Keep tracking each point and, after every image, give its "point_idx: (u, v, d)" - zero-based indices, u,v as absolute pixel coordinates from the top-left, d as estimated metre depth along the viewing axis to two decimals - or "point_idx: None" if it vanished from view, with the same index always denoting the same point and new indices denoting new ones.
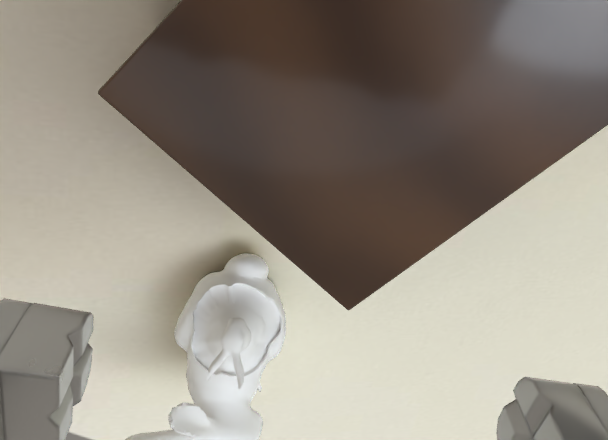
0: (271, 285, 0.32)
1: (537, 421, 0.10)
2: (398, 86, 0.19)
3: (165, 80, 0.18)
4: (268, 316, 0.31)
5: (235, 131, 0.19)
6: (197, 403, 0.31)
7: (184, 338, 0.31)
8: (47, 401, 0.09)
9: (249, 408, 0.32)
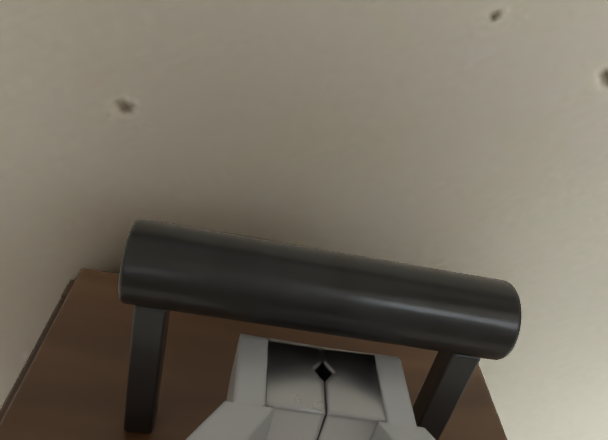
0: None
1: None
2: None
3: None
4: None
5: None
6: None
7: None
8: (307, 434, 0.09)
9: None
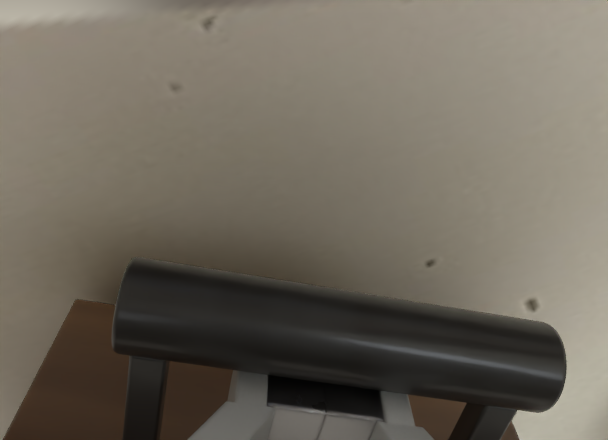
0: None
1: None
2: None
3: None
4: None
5: None
6: None
7: None
8: (309, 434, 0.09)
9: None
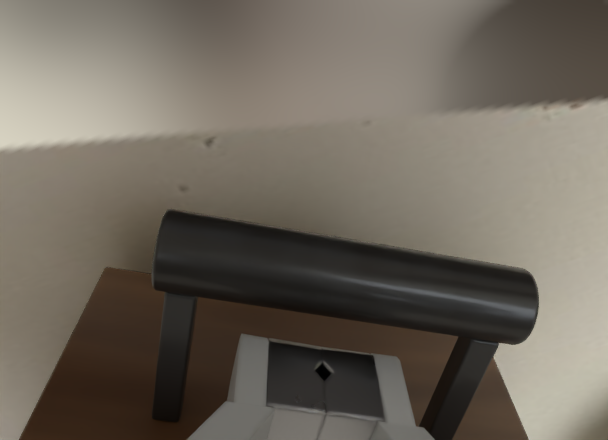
0: None
1: None
2: None
3: None
4: None
5: None
6: None
7: None
8: (308, 434, 0.09)
9: None
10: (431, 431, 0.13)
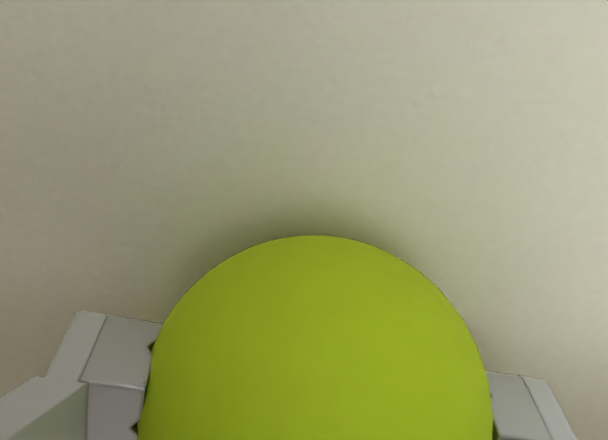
0: None
1: None
2: None
3: None
4: None
5: None
6: None
7: None
8: (131, 412, 0.09)
9: None
10: None
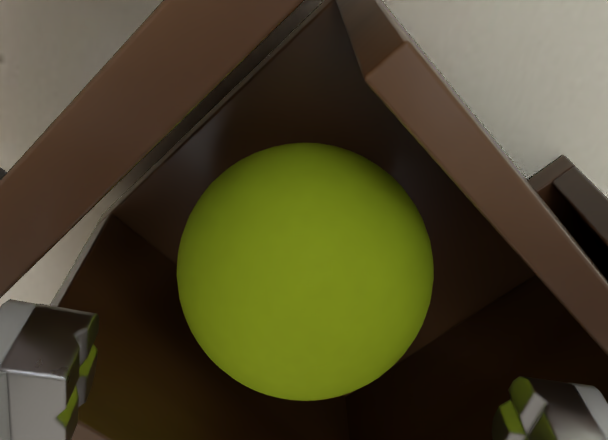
0: None
1: (531, 420, 0.10)
2: None
3: None
4: None
5: None
6: None
7: None
8: (54, 402, 0.09)
9: None
10: None
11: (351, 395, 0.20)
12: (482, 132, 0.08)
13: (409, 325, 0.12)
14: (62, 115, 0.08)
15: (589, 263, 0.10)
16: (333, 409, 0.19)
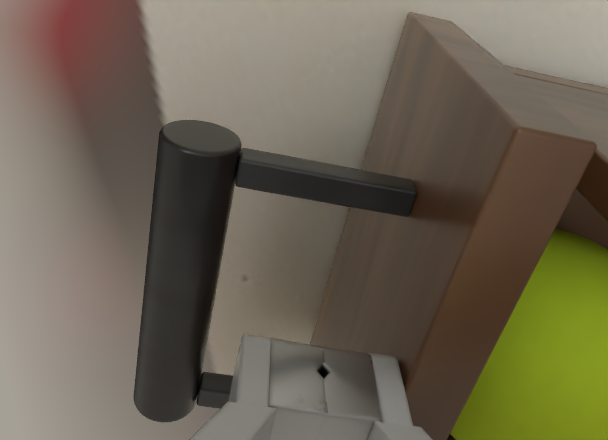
0: None
1: None
2: None
3: None
4: None
5: None
6: None
7: None
8: (310, 435, 0.09)
9: None
10: (371, 211, 0.11)
11: None
12: None
13: (604, 403, 0.11)
14: (408, 386, 0.10)
15: None
16: None
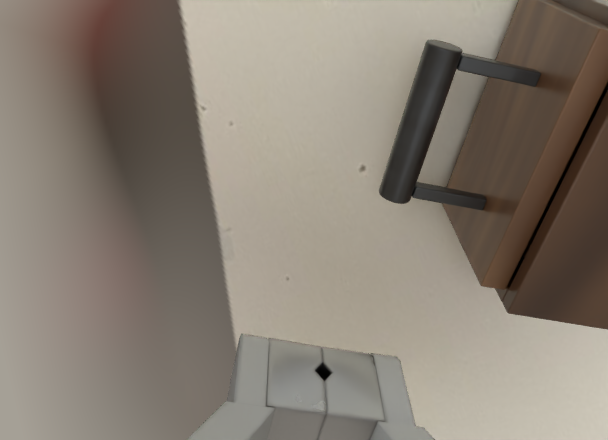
0: None
1: None
2: None
3: None
4: None
5: None
6: None
7: None
8: (308, 434, 0.09)
9: None
10: (518, 83, 0.23)
11: None
12: None
13: None
14: (543, 152, 0.22)
15: None
16: None
